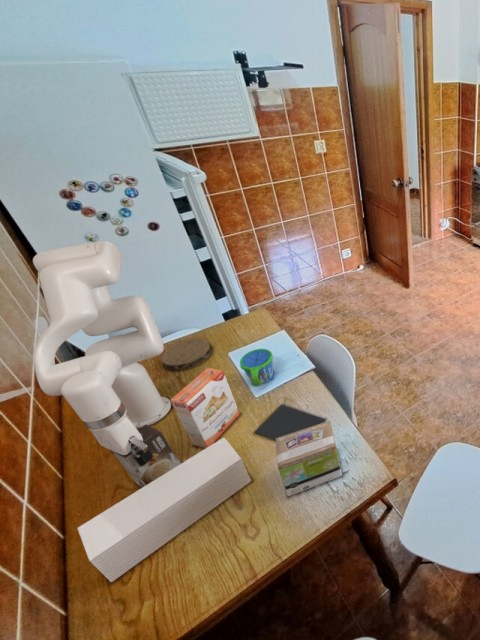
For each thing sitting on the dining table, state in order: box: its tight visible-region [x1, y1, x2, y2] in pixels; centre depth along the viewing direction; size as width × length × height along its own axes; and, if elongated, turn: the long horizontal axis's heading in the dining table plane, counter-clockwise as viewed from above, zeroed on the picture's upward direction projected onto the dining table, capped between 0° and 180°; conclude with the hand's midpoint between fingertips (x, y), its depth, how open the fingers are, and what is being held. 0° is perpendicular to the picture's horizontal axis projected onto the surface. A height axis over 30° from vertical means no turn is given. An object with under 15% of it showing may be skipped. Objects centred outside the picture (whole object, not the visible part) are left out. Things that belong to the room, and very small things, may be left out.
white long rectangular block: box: [77, 437, 252, 583], centre depth 101 cm, size 32×11×11 cm, turn 142°
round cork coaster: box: [160, 337, 212, 372], centre depth 153 cm, size 16×16×3 cm
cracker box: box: [169, 367, 241, 449], centre depth 121 cm, size 14×6×21 cm, turn 168°
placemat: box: [254, 404, 326, 441], centre depth 128 cm, size 18×12×1 cm, turn 72°
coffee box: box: [110, 425, 182, 488], centre depth 108 cm, size 9×6×16 cm
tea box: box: [274, 420, 343, 497], centre depth 111 cm, size 15×10×15 cm
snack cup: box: [239, 348, 274, 387], centre depth 143 cm, size 16×10×10 cm
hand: (133, 455), depth 105 cm, fingers open, 9 cm apart
